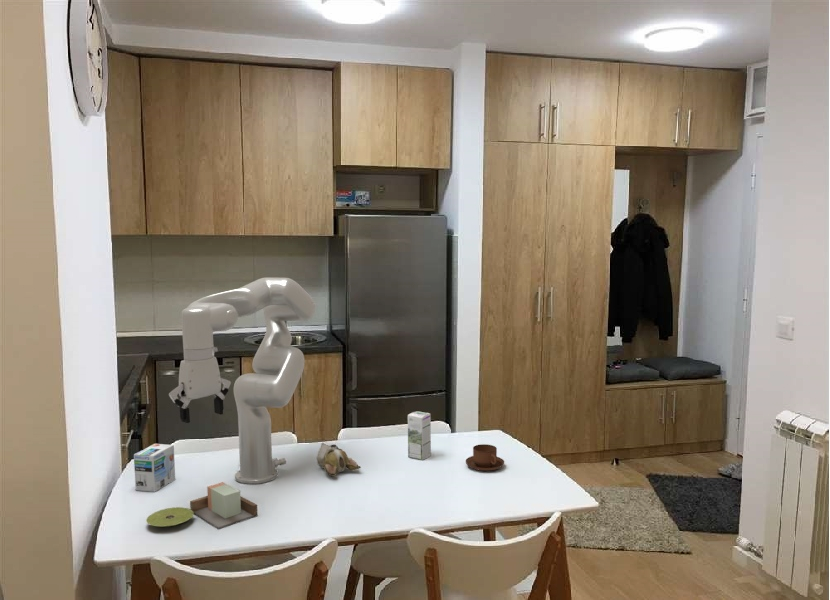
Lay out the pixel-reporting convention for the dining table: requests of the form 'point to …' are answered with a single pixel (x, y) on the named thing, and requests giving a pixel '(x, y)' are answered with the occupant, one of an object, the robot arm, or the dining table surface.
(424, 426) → the syrup box
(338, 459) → the ceramic sculpture
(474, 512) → the dining table surface
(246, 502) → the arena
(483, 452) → the cup and saucer
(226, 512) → the peach green box
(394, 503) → the dining table surface
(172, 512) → the green flat disc
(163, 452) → the light bulb box
